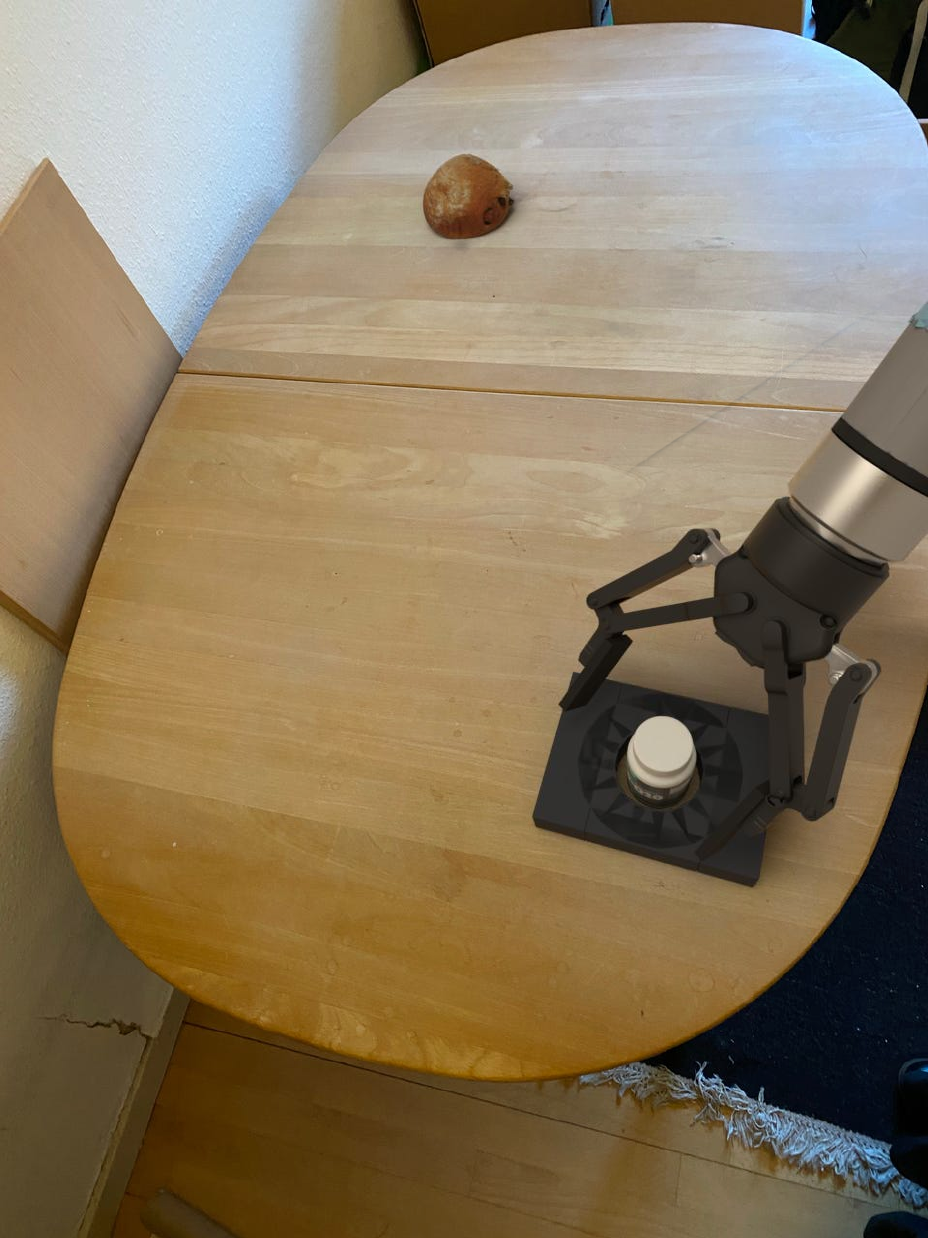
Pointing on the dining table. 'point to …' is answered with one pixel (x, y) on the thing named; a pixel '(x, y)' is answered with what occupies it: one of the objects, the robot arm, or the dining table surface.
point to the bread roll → (466, 198)
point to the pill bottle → (660, 761)
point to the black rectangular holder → (603, 814)
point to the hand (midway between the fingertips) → (635, 774)
